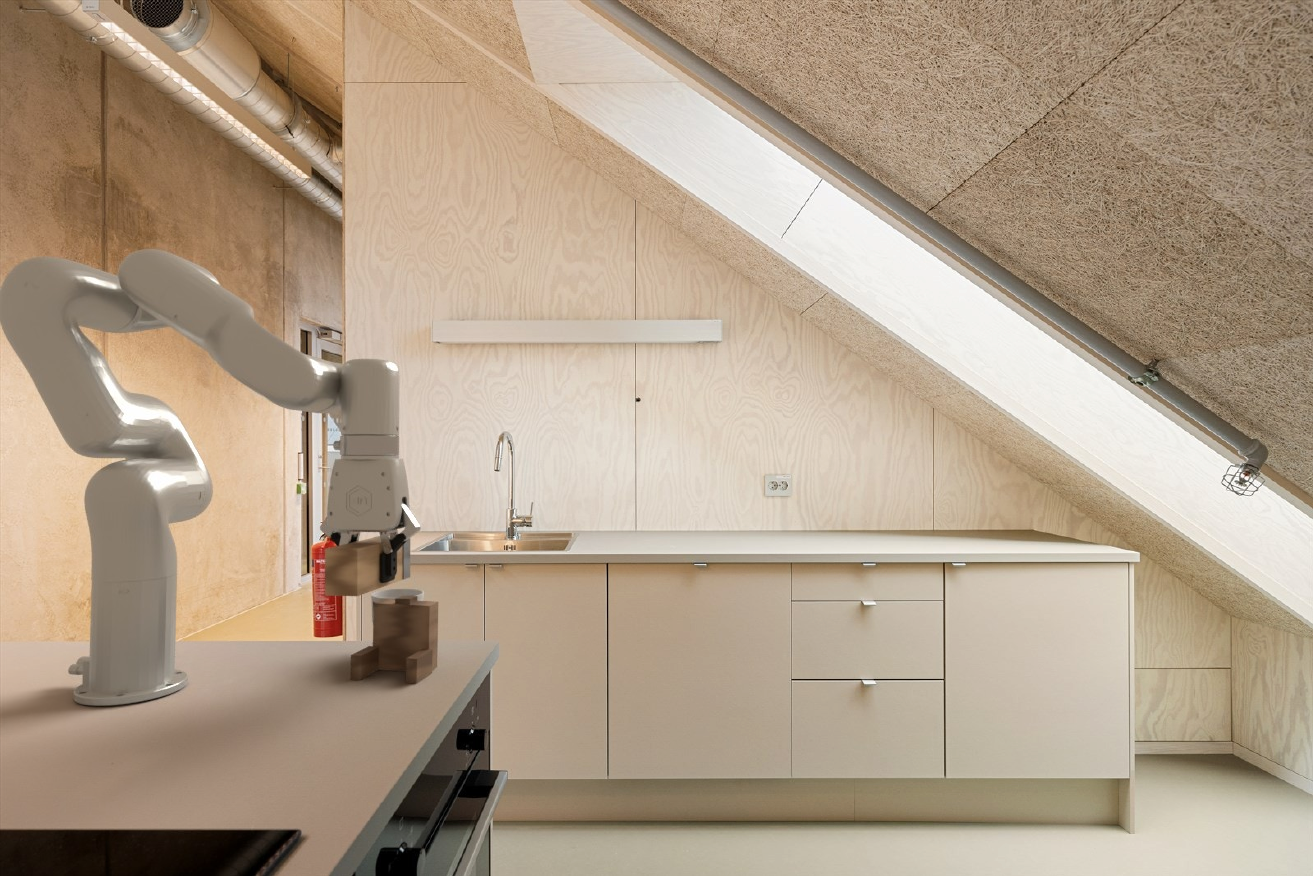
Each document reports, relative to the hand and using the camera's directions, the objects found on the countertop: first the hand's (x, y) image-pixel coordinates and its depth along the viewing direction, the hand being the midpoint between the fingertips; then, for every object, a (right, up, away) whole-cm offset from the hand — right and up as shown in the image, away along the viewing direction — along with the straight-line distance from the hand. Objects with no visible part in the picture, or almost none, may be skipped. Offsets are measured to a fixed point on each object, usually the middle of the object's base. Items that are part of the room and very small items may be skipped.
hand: (369, 579), depth 100 cm
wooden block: (0, -1, 0) cm, 1 cm away
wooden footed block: (+1, -16, +8) cm, 18 cm away
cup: (-3, -16, +18) cm, 24 cm away
